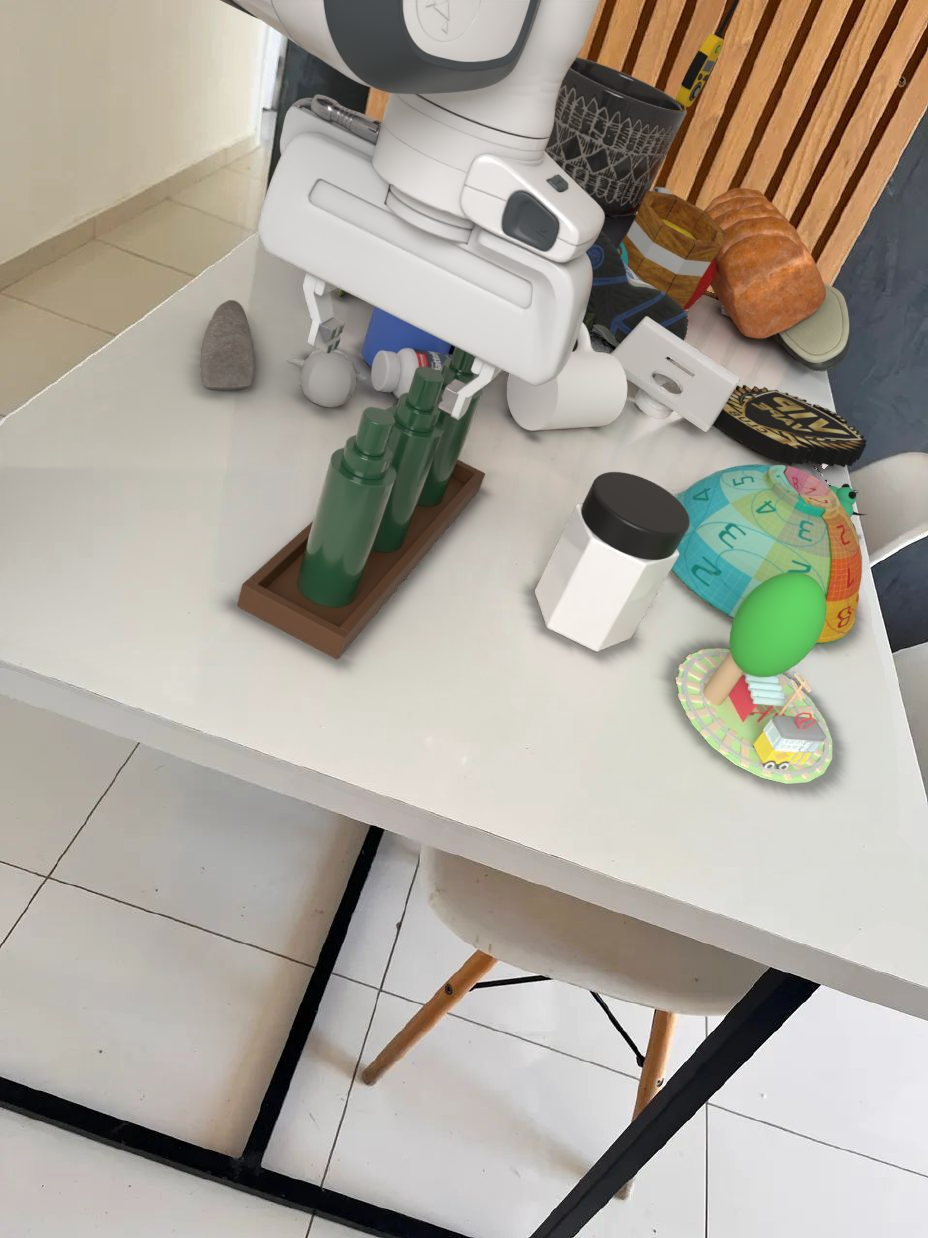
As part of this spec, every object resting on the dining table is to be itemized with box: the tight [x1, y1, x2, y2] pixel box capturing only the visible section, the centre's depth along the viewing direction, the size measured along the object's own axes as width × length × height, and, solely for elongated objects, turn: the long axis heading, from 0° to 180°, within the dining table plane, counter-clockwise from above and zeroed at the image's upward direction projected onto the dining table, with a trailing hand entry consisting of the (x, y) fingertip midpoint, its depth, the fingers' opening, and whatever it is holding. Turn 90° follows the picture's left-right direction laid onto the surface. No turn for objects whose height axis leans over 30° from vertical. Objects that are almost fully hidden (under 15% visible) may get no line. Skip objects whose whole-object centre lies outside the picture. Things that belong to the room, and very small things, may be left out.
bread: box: [703, 187, 826, 340], centre depth 150 cm, size 14×26×16 cm
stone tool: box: [199, 299, 256, 391], centre depth 94 cm, size 17×4×5 cm
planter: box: [545, 56, 688, 249], centre depth 139 cm, size 20×20×26 cm
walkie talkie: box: [675, 0, 740, 108], centre depth 129 cm, size 5×2×15 cm, turn 146°
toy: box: [813, 465, 868, 532], centre depth 113 cm, size 13×5×10 cm
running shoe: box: [586, 231, 689, 361], centre depth 125 cm, size 11×30×12 cm
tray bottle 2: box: [417, 347, 483, 507], centre depth 82 cm, size 5×5×15 cm
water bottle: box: [361, 305, 451, 368], centre depth 98 cm, size 9×9×25 cm
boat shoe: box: [774, 281, 850, 373], centre depth 152 cm, size 10×29×10 cm
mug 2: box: [617, 186, 726, 308], centre depth 139 cm, size 20×14×15 cm
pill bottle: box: [370, 348, 452, 400], centre depth 99 cm, size 5×5×9 cm
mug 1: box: [506, 322, 628, 431], centre depth 105 cm, size 12×8×10 cm
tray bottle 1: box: [372, 367, 444, 553], centre depth 75 cm, size 5×5×15 cm
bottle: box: [297, 406, 396, 608], centre depth 68 cm, size 5×5×15 cm
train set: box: [675, 572, 833, 785], centre depth 75 cm, size 15×14×14 cm
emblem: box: [713, 384, 868, 468], centre depth 124 cm, size 19×2×20 cm
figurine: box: [285, 348, 366, 408], centre depth 95 cm, size 8×5×12 cm
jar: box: [534, 471, 690, 653], centre depth 78 cm, size 9×8×12 cm
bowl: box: [670, 463, 863, 644], centre depth 94 cm, size 22×22×10 cm
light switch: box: [609, 316, 741, 433], centre depth 120 cm, size 15×6×14 cm
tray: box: [236, 459, 486, 660], centre depth 79 cm, size 30×8×2 cm, turn 159°
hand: (386, 379), depth 62 cm, fingers open, 8 cm apart
